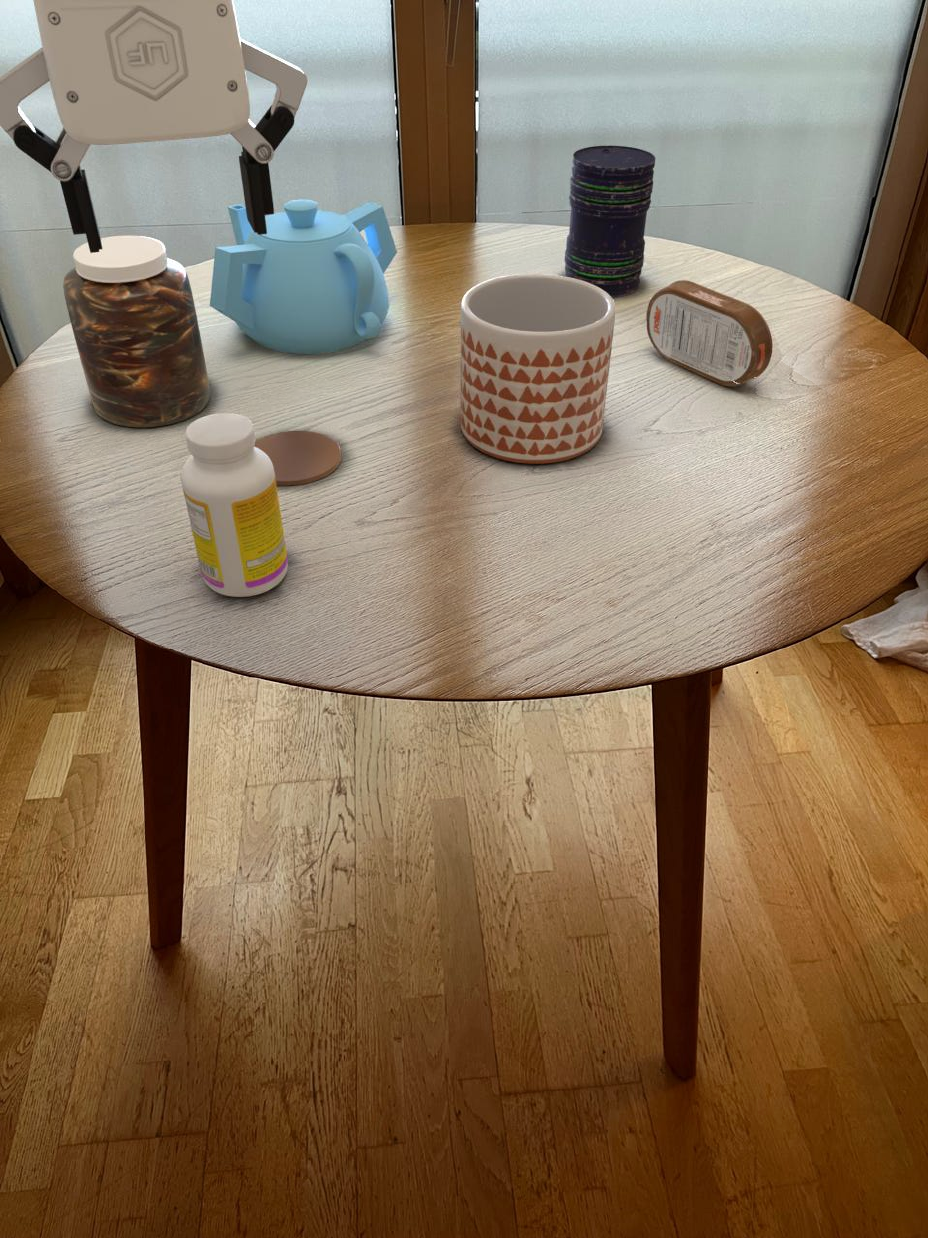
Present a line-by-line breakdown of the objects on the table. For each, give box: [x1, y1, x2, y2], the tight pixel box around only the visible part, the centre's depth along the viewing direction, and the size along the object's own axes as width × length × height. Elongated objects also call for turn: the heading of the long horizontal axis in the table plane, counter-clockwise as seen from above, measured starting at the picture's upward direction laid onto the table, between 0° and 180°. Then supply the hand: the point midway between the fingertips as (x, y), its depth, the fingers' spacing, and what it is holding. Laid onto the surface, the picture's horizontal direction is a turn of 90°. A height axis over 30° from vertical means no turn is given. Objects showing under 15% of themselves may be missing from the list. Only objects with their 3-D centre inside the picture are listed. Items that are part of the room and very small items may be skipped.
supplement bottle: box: [180, 412, 289, 598], centre depth 71 cm, size 7×7×13 cm
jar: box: [62, 235, 211, 428], centre depth 92 cm, size 12×12×15 cm
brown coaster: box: [254, 430, 342, 486], centre depth 88 cm, size 9×9×1 cm
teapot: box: [209, 198, 398, 355], centre depth 106 cm, size 19×19×14 cm
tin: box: [645, 279, 774, 387], centre depth 100 cm, size 15×3×8 cm, turn 40°
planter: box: [460, 273, 617, 465], centre depth 89 cm, size 14×14×13 cm
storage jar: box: [563, 145, 656, 298], centre depth 117 cm, size 10×10×15 cm
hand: (178, 235), depth 58 cm, fingers open, 9 cm apart
